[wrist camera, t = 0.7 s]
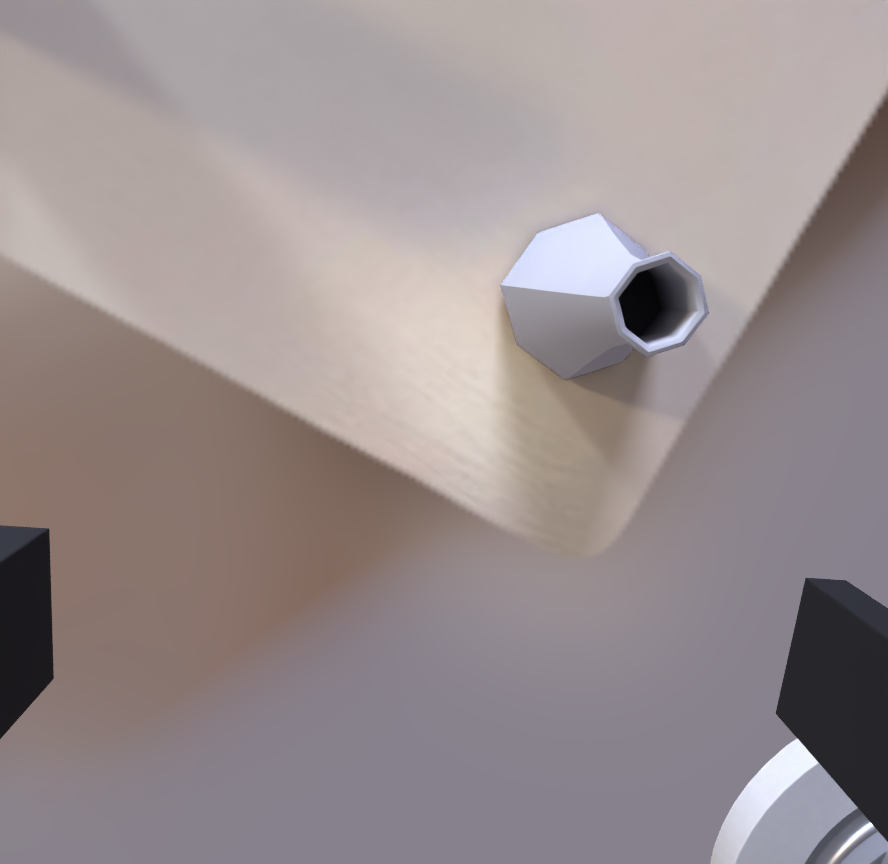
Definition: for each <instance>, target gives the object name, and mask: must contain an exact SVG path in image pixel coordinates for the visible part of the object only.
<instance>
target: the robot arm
mask: <svg viewBox="0 0 888 864" xmlns="http://www.w3.org/2000/svg"><path fill="white" fill-rule="evenodd" d="M51 610H52V609H51V576H50V543H49V529H46V528H31V527H15V526H0V739H1V738H2V736H3V735H4V734H5V733H6V732H7V731H8V730H9V729H10V727H11V726H12V725H13V724H14V723H15V722H16V721H17V719H18V718H19V717H20V716H21V715H22V714H23V713H24V711H25V710H26V709H27V708H28V707H29V706H30V705H31V704H32V702H33V701H34V700H35V699H36V698H37V697H38V696H39V695H40V693H41V692H42V691H43V690H44V689H45V688H46V687H47V685H48V684H49V683H50V682H51V681H52V680H53V678H54V676H53V645H52V644H53V643H52V611H51ZM776 714H777V715H778V717H779V718H780V719H781V720H782V721H783V722H784V723H785V725H786V726H787V727H788V728H789V729H790V730H791V732H792V733H793V734H794V735H795V736H796V737H797V738H798V740H799V741H800V742H801V743H802V744H803V745H804V746H805V748H806V749H807V750H808V751H809V752H810V753H811V755H812V756H813V757H814V758H815V759H816V760H817V761H818V763H819V764H820V765H821V766H822V767H823V768H824V769H825V771H826V772H827V773H828V774H829V775H830V776H831V778H832V779H833V780H834V781H835V782H836V783H837V784H838V786H839V787H840V788H841V789H842V790H843V791H844V792H845V794H846V795H847V796H848V797H849V798H850V799H851V801H852V802H853V803H854V804H855V805H856V806H857V807H858V808H857V809H856V810H854V811H853V812H851V813H850V814H848V815H847V816H846V817H845V818H843V819H842V820H841V821H840V822H838V823H837V824H836V825H835V826H834V827H833V828H832V829H831V830H830V831H829V832H828V833H827V834H826V835H825V836H824V837H823V839H822V840H821V841H820V842H819V843H818V845H817V846H816V847H815V849H814V850H813V851H812V853H811V854H810V856H809V858H808V859H807V861H806V862H805V864H888V608H886V607H885V606H883V605H882V604H880V603H879V602H877V601H876V600H874V599H872V598H871V597H870V596H868V595H867V594H865V593H864V592H862V591H861V590H859V589H858V588H856V587H855V586H853V585H852V584H850V583H849V582H847V581H845V580H829V579H814V578H806V579H805V584H804V588H803V593H802V597H801V602H800V606H799V611H798V615H797V620H796V624H795V629H794V633H793V638H792V642H791V647H790V652H789V656H788V660H787V665H786V669H785V674H784V679H783V683H782V687H781V692H780V697H779V701H778V706H777V710H776Z"/></svg>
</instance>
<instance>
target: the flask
mask: <svg viewBox="0 0 888 864" xmlns="http://www.w3.org/2000/svg"><path fill="white" fill-rule="evenodd" d="M500 286H501V289H502V293H503V296H504V300H505V303H506V307H507V310H508V314H509V317H510V321H511V324H512V328H513V331H514V335H515V338H516V342H517V345H518V346H520V347H521V348H522V349H524V350H525V351H526V352H528V353H529V354H530V355H532V356H533V357H534V358H536V359H537V360H539V361H540V362H541V363H543V364H544V365H545V366H547V367H548V368H549V369H551V370H552V371H553V372H555V373H556V374H558V375H559V376H560V377H562V378H563V379H564V380H567V379H570V378H573V377H577V376H580V375H583V374H586V373H589V372H592V371H595V370H599V369H602V368H605V367H608V366H611V365H614V364H617V363H620V362H623V361H624V360H625V359H626V358H627V356H628V355H629V354H630V352H631V351H632V350H633V348H635V349H636V350H637V351H639V352H640V353H641V354H642V355H644V356H645V357H648V356H652V355H655V354H658V353H661V352H664V351H667V350H670V349H674V348H677V347H680V346H683V345H685V343H686V342H687V341H688V340H689V338H690V337H691V336H692V334H693V333H694V332H695V331H696V329H697V328H698V327H699V325H700V324H701V323H702V322H703V320H704V319H705V318H706V316H707V315H708V314H709V312H708V307H707V303H706V298H705V293H704V289H703V284H702V280H701V275H700V274H698V273H697V272H696V271H695V270H693V269H692V268H691V267H690V266H688V265H687V264H686V263H685V262H683V261H682V260H681V259H680V258H679V257H677V256H676V255H675V254H674V253H672V252H671V251H668V252H665V253H662V254H659V255H655V256H652V257H649V255H648V253H647V251H645V250H644V249H643V248H642V247H640V246H639V245H638V244H637V243H635V242H634V241H633V240H632V239H630V238H629V237H628V236H627V235H625V234H624V233H623V232H622V231H620V230H619V229H618V228H617V227H615V226H614V225H613V224H612V223H610V222H609V221H608V220H607V219H605V218H604V217H603V216H602V215H600V214H599V213H597V214H594V215H591V216H588V217H585V218H582V219H578V220H575V221H572V222H569V223H566V224H563V225H560V226H557V227H554V228H550V229H547V230H544V231H541V232H538V233H537V235H536V236H535V237H534V239H533V240H532V242H531V243H530V244H529V246H528V247H527V249H526V250H525V251H524V253H523V254H522V256H521V257H520V258H519V260H518V261H517V263H516V264H515V265H514V267H513V268H512V270H511V271H510V272H509V274H508V275H507V277H506V278H505V279H504V281H503V282H502V283H501V285H500Z"/></svg>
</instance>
